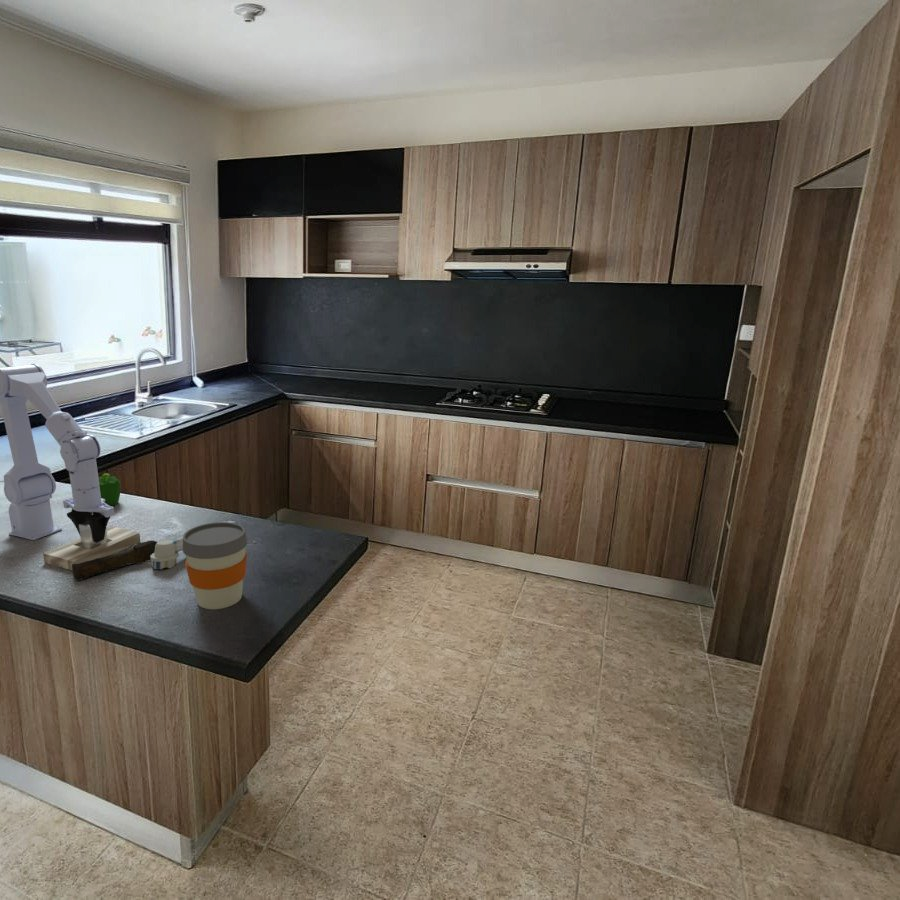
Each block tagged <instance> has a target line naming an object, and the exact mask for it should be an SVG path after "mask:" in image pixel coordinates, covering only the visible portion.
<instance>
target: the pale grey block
mask: <svg viewBox="0 0 900 900" xmlns="http://www.w3.org/2000/svg"><path fill="white" fill-rule="evenodd" d="M79 530H80V535H79V539H80V538H81V546H82V547H83V548H87V549H94V548H96V547H98V546H101V545H103V544H105V543H108V538H107V529H106V531H105V537H104V540H102V541H100V542H95V541H94V539H93V535H92V531H91V528H90V526H89V524H88V522H87V521H86V522H84V523H81V524H79Z"/></svg>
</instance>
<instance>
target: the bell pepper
mask: <svg viewBox="0 0 900 900" xmlns="http://www.w3.org/2000/svg"><path fill="white" fill-rule="evenodd" d="M98 478H99V486H100V494H101V498H102V499H105V502H104V503H106V504H107V505H109V506H111V507H114V506H115V504H116V505H118V504H119V501H120V496H121V490H122V485H121V482H120V480H119V479H118V478H117V477H116V476H115V475H113V476H111V474H110V473H106V472H105V473H103V474H102V476H98Z"/></svg>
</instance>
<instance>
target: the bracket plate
mask: <svg viewBox="0 0 900 900" xmlns="http://www.w3.org/2000/svg"><path fill="white" fill-rule="evenodd" d="M106 529H107V538H108V543H105V544H103V545H101V546H98V547H96V548H94V549H87V548H83V547H82V546H81V538H80V537H79V538H78V539H75V540H72V541H70V542H68V543H65V544H63V545H61V546H58V547H56V548H54V549H50V550H48V551H46V552H44V553H42V554H43V560H44V564H46V563H47V565H50V564H51V566H54V567H57V566H58V568H61V567H62V569H65V570H68V569H69V571H72V564H79V563H83V562H86V561H91V560H94V559H96V558H102V557H105V556H108V555H112V554H114V553H115V554H116V552H117V553H119V552H122V551H124V550H125V548H126V549H128V548H130V547H133V546H134V545H136V543H137V544H138V543H141V542H140V541H141V535H140V534H141V533H140V532H139V531H134V530H131V529H130V530H129V529H126V528H120V527H116V526H108V527H107V526H106ZM129 546H130V547H129ZM127 547H128V548H127Z"/></svg>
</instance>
